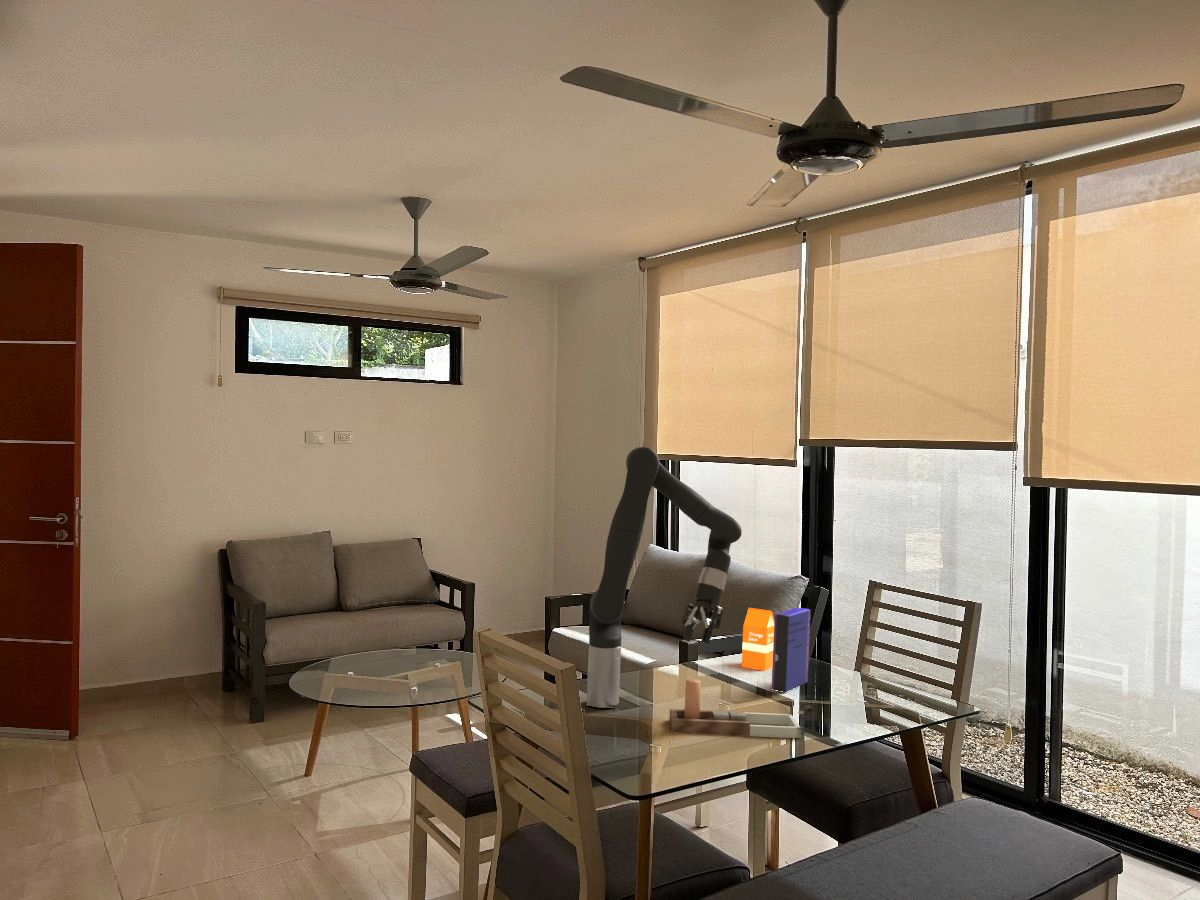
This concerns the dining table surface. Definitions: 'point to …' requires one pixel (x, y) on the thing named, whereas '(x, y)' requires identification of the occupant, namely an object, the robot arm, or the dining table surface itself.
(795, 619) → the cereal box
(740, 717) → the gray cube
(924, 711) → the dining table surface
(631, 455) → the robot arm
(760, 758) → the dining table surface
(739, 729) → the slot board
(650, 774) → the dining table surface
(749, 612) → the orange juice
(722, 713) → the light grey cube
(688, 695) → the orange rounded cylinder
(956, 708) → the dining table surface
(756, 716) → the tray
